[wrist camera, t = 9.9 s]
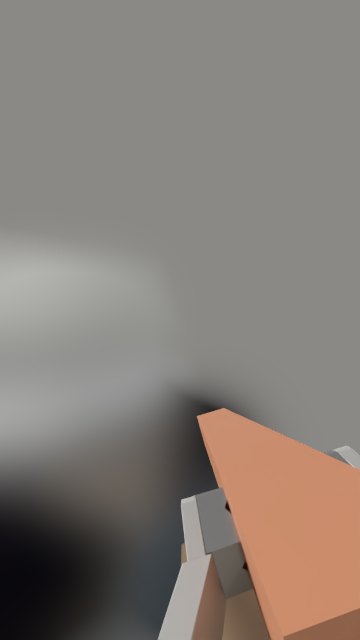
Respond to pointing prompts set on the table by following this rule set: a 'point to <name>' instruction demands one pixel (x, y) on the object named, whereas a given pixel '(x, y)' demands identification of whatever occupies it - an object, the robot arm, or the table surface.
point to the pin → (291, 526)
